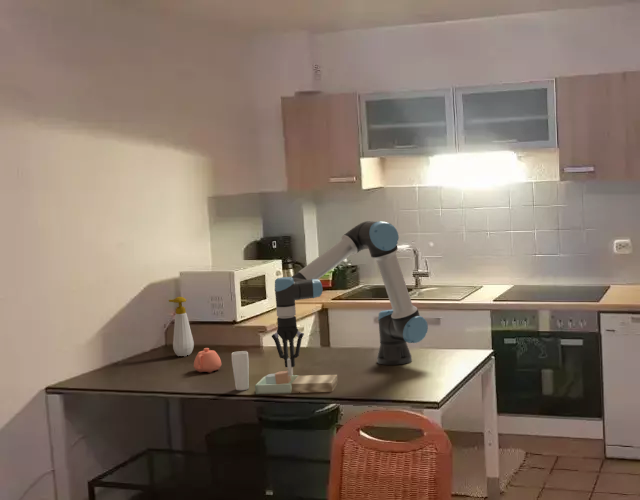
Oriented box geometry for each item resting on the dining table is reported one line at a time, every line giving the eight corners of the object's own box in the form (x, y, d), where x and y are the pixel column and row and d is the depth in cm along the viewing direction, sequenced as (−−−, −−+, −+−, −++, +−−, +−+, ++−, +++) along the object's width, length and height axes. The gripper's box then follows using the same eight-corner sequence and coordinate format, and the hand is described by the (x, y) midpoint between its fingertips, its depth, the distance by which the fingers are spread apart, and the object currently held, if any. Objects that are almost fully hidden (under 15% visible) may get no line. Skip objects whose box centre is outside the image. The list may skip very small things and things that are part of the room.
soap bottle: (181, 352, 463) (176, 294, 461) (198, 353, 459) (194, 294, 456) (166, 357, 452) (161, 298, 449) (183, 358, 447) (178, 298, 445)
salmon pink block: (291, 380, 373) (289, 370, 372) (288, 383, 368) (287, 373, 367) (279, 381, 374) (277, 371, 373) (276, 384, 369) (274, 374, 368)
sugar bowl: (226, 368, 418) (225, 345, 417) (210, 375, 406) (208, 352, 405) (203, 367, 424) (202, 345, 423) (186, 374, 411) (185, 351, 410)
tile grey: (277, 373, 373) (268, 374, 374) (275, 376, 368) (265, 377, 369) (279, 385, 374) (269, 386, 374) (276, 388, 369) (267, 389, 369)
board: (337, 383, 374) (337, 374, 374) (332, 391, 360) (331, 382, 360) (298, 384, 377) (298, 375, 377) (291, 392, 363) (291, 383, 363)
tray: (298, 383, 378) (298, 375, 378) (290, 393, 362) (289, 384, 362) (265, 384, 381) (264, 376, 380) (255, 394, 365) (255, 385, 365)
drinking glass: (234, 388, 378) (231, 351, 376) (250, 386, 378) (248, 350, 377) (233, 391, 371) (231, 354, 370) (250, 390, 372) (248, 353, 370)
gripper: (304, 314, 370) (308, 372, 372) (272, 315, 373) (276, 373, 375) (300, 317, 363) (304, 376, 365) (268, 318, 365) (272, 377, 367)
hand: (290, 375), depth 370 cm, fingers closed
